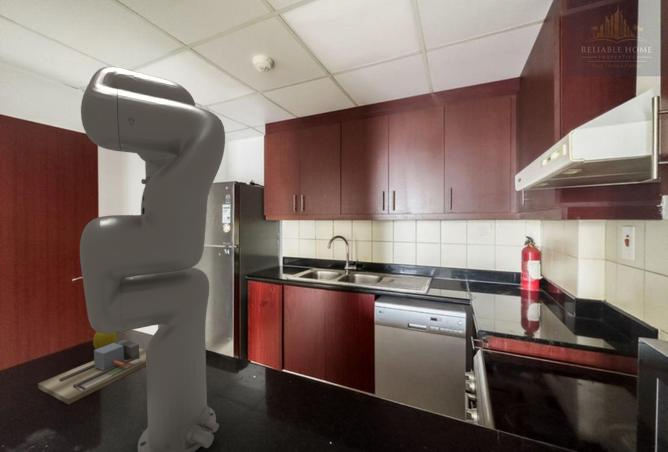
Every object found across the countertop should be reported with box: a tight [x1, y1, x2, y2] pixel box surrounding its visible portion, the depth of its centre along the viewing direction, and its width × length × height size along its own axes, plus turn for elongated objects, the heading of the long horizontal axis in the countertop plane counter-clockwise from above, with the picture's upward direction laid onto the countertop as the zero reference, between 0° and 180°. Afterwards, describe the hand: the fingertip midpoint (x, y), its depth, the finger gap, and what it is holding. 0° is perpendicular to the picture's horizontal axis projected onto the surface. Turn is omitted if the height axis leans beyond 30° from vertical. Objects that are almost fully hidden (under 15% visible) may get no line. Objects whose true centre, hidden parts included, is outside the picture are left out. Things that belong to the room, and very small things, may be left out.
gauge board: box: [37, 339, 147, 405], centre depth 69 cm, size 14×20×5 cm
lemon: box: [92, 331, 118, 350], centre depth 79 cm, size 6×6×8 cm
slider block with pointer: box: [93, 342, 125, 371], centre depth 69 cm, size 8×4×4 cm, turn 67°
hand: (163, 247), depth 76 cm, fingers closed
